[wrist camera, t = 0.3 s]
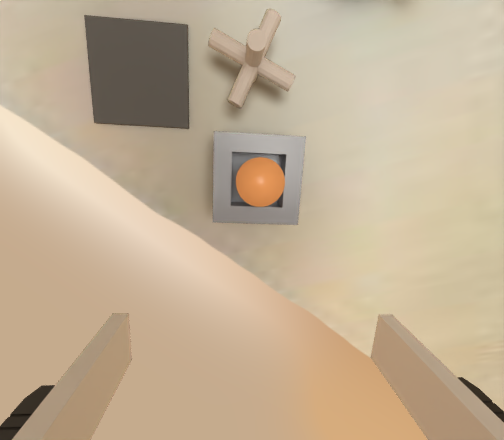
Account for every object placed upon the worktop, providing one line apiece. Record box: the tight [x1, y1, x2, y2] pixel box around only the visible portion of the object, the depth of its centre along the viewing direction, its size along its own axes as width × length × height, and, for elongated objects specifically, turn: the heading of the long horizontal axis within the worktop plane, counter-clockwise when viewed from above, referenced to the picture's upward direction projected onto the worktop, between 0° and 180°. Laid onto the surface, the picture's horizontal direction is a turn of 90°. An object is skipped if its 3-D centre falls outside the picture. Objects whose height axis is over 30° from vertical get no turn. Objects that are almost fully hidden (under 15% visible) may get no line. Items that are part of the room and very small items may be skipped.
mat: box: [84, 15, 189, 129], centre depth 32 cm, size 12×12×1 cm
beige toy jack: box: [208, 9, 296, 108], centre depth 28 cm, size 10×10×10 cm
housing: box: [213, 131, 306, 225], centre depth 32 cm, size 10×10×8 cm
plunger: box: [236, 157, 285, 207], centre depth 26 cm, size 5×5×2 cm
